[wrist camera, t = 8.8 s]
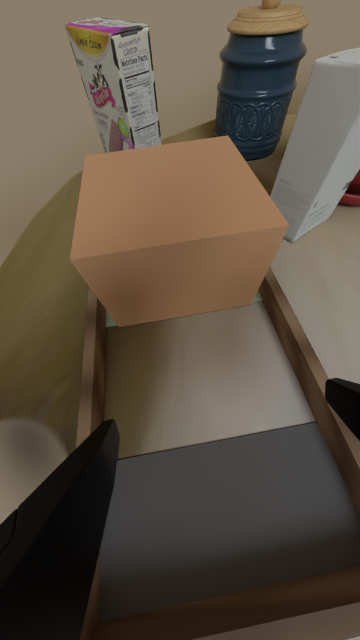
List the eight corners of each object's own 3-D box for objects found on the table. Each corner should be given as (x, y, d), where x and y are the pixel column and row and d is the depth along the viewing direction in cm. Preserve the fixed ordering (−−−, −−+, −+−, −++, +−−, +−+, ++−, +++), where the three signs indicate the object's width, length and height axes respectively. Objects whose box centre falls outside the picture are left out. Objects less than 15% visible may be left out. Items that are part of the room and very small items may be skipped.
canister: (200, 151, 41) (205, -18, 25) (233, 129, 45) (254, -27, 30) (257, 168, 36) (306, -24, 21) (287, 141, 41) (346, -34, 25)
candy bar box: (111, 178, 37) (61, 22, 23) (133, 168, 39) (98, 16, 24) (144, 202, 33) (108, 29, 19) (168, 190, 34) (151, 20, 20)
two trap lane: (402, 578, 12) (452, 614, 10) (83, 649, 12) (55, 705, 9) (223, 201, 32) (226, 183, 30) (102, 219, 32) (95, 203, 29)
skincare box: (291, 244, 26) (388, 67, 13) (257, 222, 29) (311, 55, 16) (329, 218, 29) (445, 43, 16) (294, 200, 31) (369, 36, 18)
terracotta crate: (250, 304, 22) (289, 225, 13) (119, 327, 22) (69, 259, 13) (217, 222, 29) (228, 135, 21) (117, 237, 29) (85, 155, 20)
